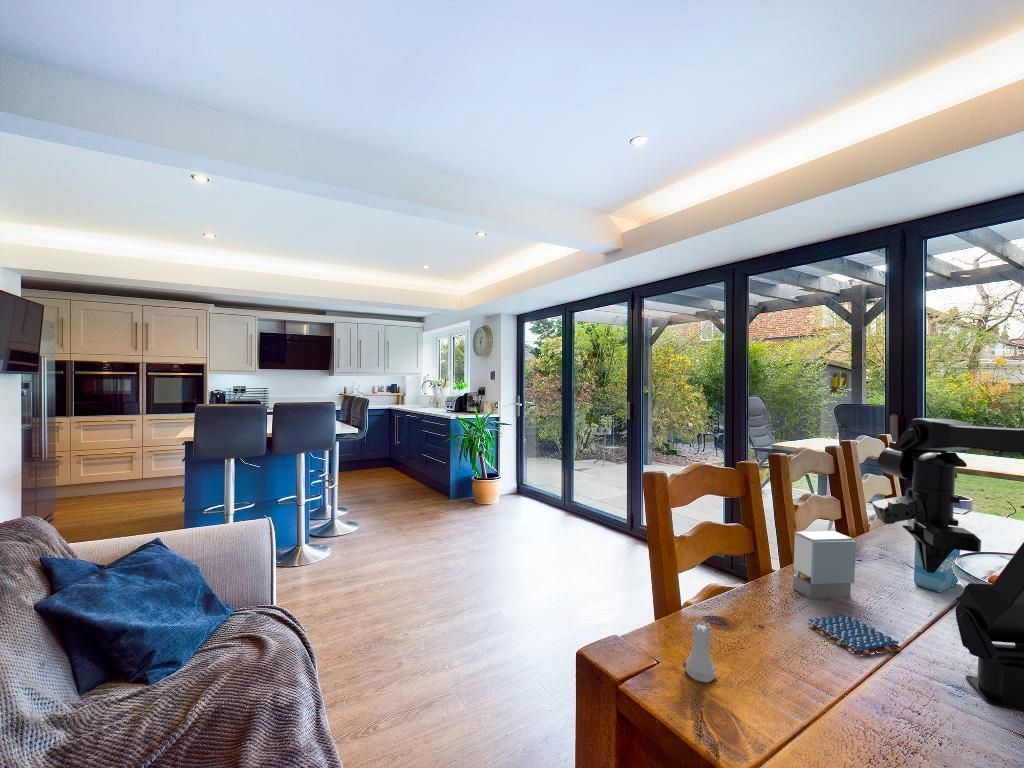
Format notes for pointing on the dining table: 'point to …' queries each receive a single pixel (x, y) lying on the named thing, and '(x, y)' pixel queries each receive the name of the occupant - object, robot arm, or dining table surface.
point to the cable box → (805, 560)
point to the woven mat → (854, 635)
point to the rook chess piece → (700, 654)
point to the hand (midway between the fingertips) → (928, 571)
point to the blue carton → (940, 577)
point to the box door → (833, 562)
